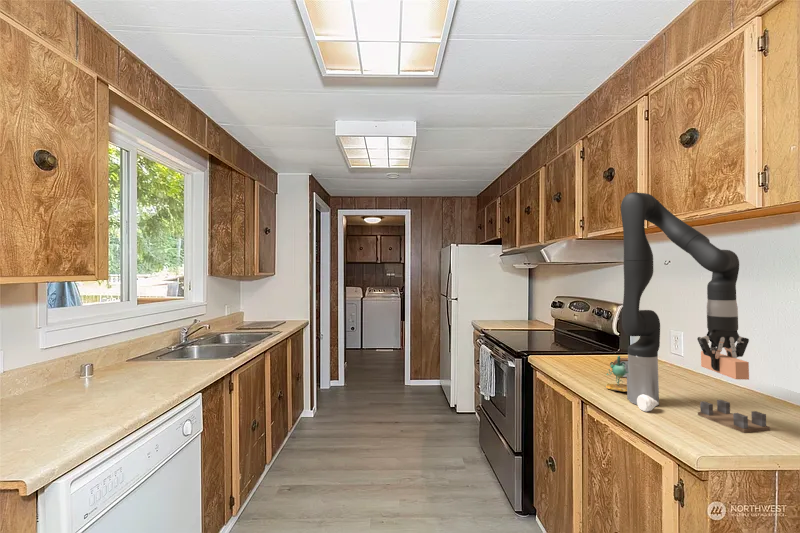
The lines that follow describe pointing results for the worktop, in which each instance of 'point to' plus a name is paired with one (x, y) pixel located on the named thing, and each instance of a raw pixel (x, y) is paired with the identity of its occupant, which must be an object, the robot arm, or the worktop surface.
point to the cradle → (733, 417)
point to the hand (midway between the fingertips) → (723, 370)
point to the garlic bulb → (646, 403)
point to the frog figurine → (618, 372)
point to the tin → (624, 365)
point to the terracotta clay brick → (728, 366)
